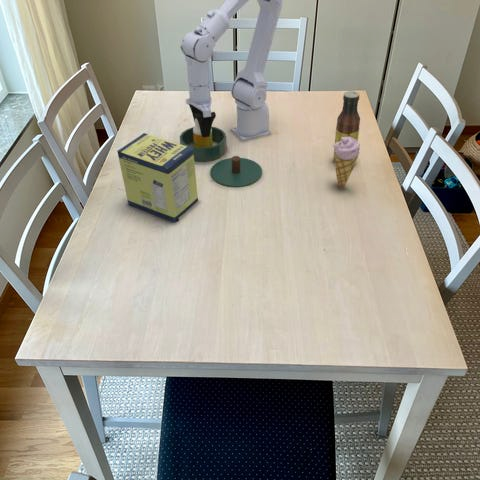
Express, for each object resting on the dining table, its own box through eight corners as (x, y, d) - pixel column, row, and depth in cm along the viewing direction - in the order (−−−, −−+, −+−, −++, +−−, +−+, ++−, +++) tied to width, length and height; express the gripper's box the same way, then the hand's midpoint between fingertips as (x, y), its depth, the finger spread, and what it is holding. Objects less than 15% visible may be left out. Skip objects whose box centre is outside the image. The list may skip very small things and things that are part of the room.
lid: (247, 156, 145) (247, 140, 141) (271, 180, 136) (272, 164, 132) (202, 168, 141) (201, 152, 137) (224, 194, 132) (223, 177, 128)
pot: (214, 136, 153) (214, 121, 150) (234, 156, 145) (234, 141, 142) (174, 146, 149) (172, 131, 146) (191, 168, 141) (190, 153, 137)
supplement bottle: (212, 155, 145) (210, 124, 138) (193, 155, 145) (191, 124, 138) (213, 146, 149) (211, 115, 142) (195, 146, 149) (192, 115, 142)
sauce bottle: (353, 157, 144) (365, 89, 130) (355, 168, 140) (367, 99, 126) (331, 156, 145) (340, 88, 130) (331, 167, 140) (341, 98, 126)
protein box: (151, 185, 135) (143, 131, 124) (199, 202, 129) (194, 147, 118) (126, 204, 129) (115, 150, 118) (175, 223, 123) (168, 168, 112)
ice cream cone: (324, 189, 133) (330, 137, 122) (332, 178, 137) (339, 127, 126) (348, 196, 131) (357, 143, 120) (355, 184, 134) (365, 132, 124)
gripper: (178, 74, 136) (182, 121, 146) (191, 95, 127) (195, 144, 137) (203, 70, 138) (206, 117, 148) (217, 91, 128) (219, 140, 138)
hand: (202, 130), depth 142 cm, fingers open, 7 cm apart
